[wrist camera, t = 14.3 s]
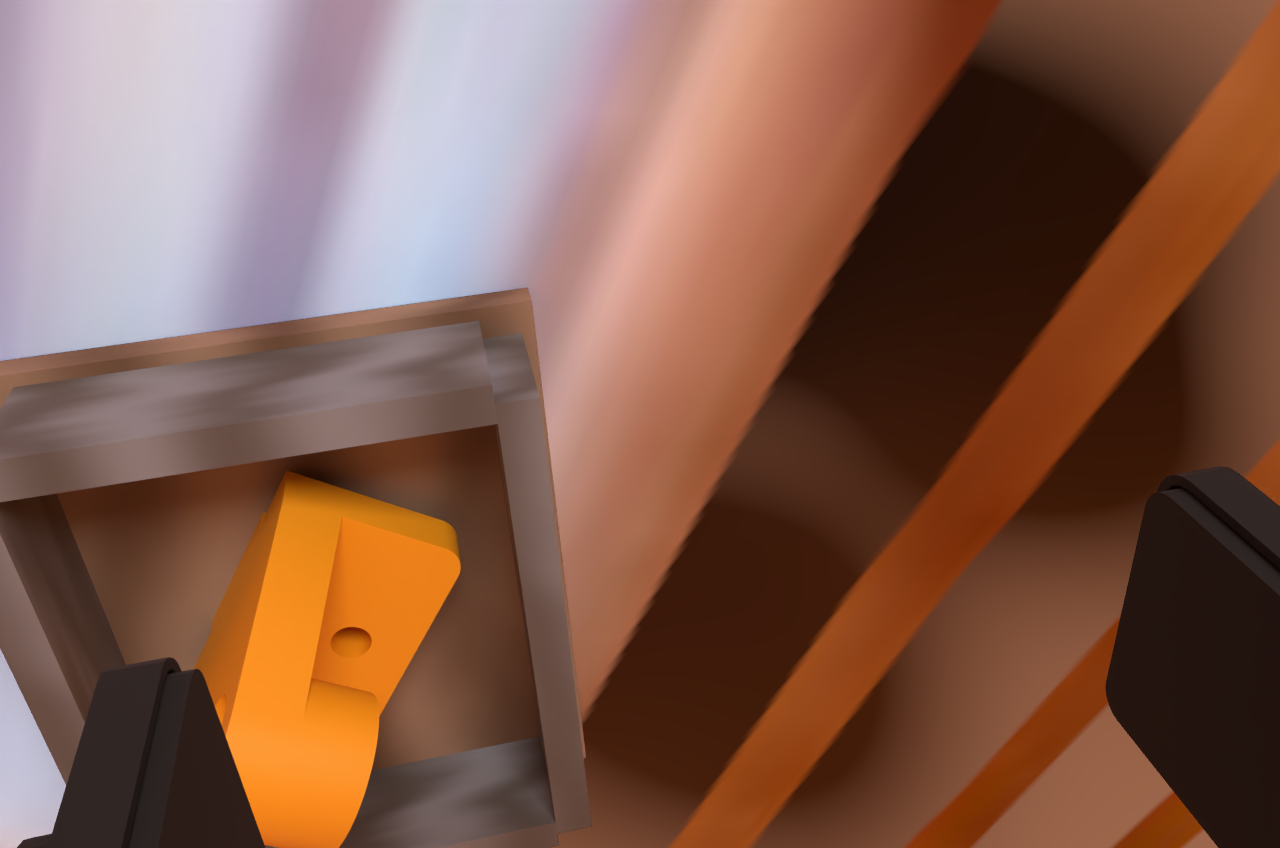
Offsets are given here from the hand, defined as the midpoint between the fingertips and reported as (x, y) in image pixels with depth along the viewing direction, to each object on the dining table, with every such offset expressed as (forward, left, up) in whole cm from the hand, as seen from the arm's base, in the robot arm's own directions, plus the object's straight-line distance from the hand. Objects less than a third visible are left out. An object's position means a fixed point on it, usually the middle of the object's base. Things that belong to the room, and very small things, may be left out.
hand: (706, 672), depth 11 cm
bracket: (+9, +21, -29) cm, 37 cm away
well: (+9, +21, -30) cm, 38 cm away
